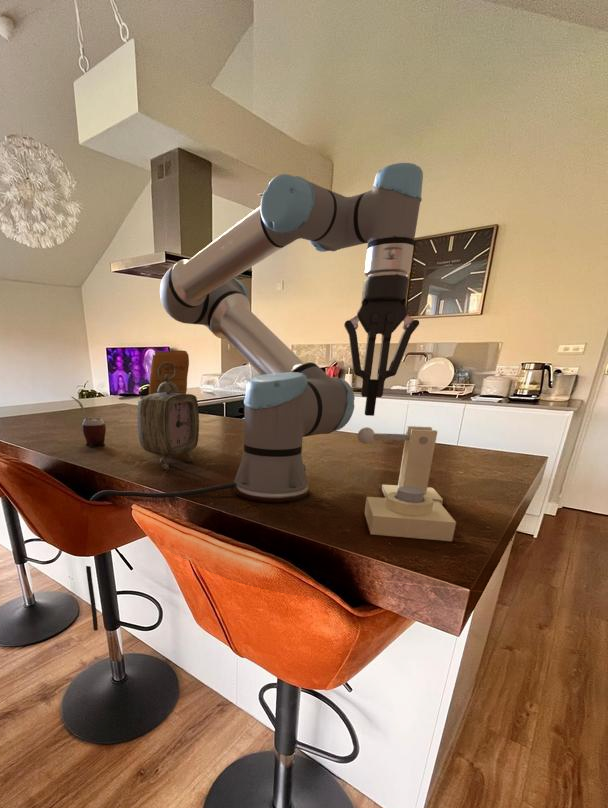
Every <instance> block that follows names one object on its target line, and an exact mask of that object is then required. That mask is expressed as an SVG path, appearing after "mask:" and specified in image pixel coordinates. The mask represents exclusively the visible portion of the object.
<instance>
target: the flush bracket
mask: <svg viewBox="0 0 608 808" xmlns="http://www.w3.org/2000/svg"><path fill="white" fill-rule="evenodd" d="M405 434H409V435H410V441H409V440H404V443H403V450H402V456H401V457H402V458H401V463H400V470H399V477H398V483H397V484H382V486H381V491H382V493H383V496H384V498H386V495H387V494H389V493H391V492H397V490H398V488H399V487H415V488H419V489H422V490H424V495H425V496H427V497H430V498H431V499H432V500H433V501H436V502H440V503H441V505H442V506H443V502H444V499H443V497H442V496H441V495H440V494H439V492H437V491H436V489H434V488H433V487H428V485H429V480H430V474H431V469H432V463H433V458H434V453H435V448H436V443H437V442H436V441H437V437H438V430H436V429H433V427H432V426H412V425H410V426H409V425H408V426H406V432H405Z"/></svg>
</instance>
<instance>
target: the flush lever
mask: <svg viewBox="0 0 608 808" xmlns="http://www.w3.org/2000/svg"><path fill="white" fill-rule="evenodd" d="M357 439H358V442H360V443H361V444H363V445H367V444H370V443H372V442H373V441H374V440H391V441H405V440H409V441H410V435H409V434H406V433H382V432H381V433H380V432H375V431H374V429H372V427H368V426H367V427H366V426H365V427H362V428H360V430H359V431H358V432H357Z"/></svg>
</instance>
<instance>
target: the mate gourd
mask: <svg viewBox="0 0 608 808" xmlns="http://www.w3.org/2000/svg"><path fill="white" fill-rule="evenodd" d="M71 398H72V399H73V400H74V401H75V402H77V403H78V405H79V407H80V408H81V410H82V413H83V414H84V417H85V419H83V421H82V424H81V430H82V435H83V437H84V439H85V441H86V443H85V445H86V446H89V448H94V447H96V446H97V447H105V446H106V444H105V439H106V433H107V427H106V424H105V421H104V420H103V418H98V417H91V418H89V417H88V415H87V413H86V409H85V408H84V405H83V403H82V402H81V401H80V400H78V399H77V398H76V397H73V396H71Z"/></svg>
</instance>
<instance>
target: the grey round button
mask: <svg viewBox="0 0 608 808" xmlns="http://www.w3.org/2000/svg"><path fill="white" fill-rule="evenodd" d="M423 497H424V490H422V489H419V488H415V487H399V488H398V490H397V496H396V499H398V500H401V501H405V502H413V503H419V502H423Z"/></svg>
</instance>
